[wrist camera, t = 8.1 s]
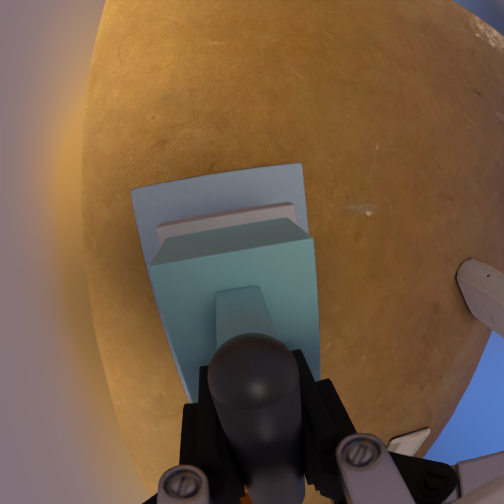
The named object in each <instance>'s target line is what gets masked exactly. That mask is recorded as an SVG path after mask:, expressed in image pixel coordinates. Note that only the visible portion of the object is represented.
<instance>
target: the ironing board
mask: <svg viewBox="0 0 504 504" xmlns="http://www.w3.org/2000/svg"><path fill="white" fill-rule="evenodd" d="M130 192H131V197H132V203H133V208H134V213H135V218H136V223H137V228H138V232H139V237H140V241H141V246H142V250H143V254H144V259H145V263H146V267H147V271H148V275H149V279H150V282H151V286H152V290H153V294H154V297H155V301H156V304H157V308H158V311H159V315H160V318H161V322H162V325H163V328H164V331H165V335H166V338H167V341H168V344H169V347H170V350H171V353H172V356H173V359H174V362H175V365H176V368H177V371H178V374H179V376H180V379H181V382H182V385H183V388H184V390H185V393H186V396H187V398H188V401H189V403H193V401H192V399H191V396H190V394H189V391H188V388H187V386H186V383H185V380H184V378H183V375H182V372H181V369H180V367H179V364H178V361H177V358H176V355H175V352H174V349H173V346H172V343H171V340H170V337H169V334H168V331H167V328H166V325H165V321H164V318H163V315H162V311H161V308H160V305H159V301H158V298H157V294H156V291H155V287H154V284H153V280H152V276H151V272H150V269H149V266H150V264H151V262H152V261H153V259H154V258H155V256H156V254H157V253H158V251H159V249H160V246H159V242H158V237H157V233H156V227H157V226H158V225H159V224H160V223H165V222H170V221H175V220H180V219H186V218H191V217H197V216H202V215H208V214H214V213H220V212H225V211H231V210H237V209H244V208H250V207H256V206H262V205H269V204H276V203H282V202H291V203H293V204H295V207H296V216H297V225H298V226H299V227H300V228H301V229H303V230H304V231H305V232H306V233H308V234H309V231H308V219H307V209H306V198H305V189H304V179H303V171H302V163H290V164H281V165H272V166H264V167H256V168H249V169H241V170H234V171H228V172H221V173H215V174H208V175H202V176H197V177H191V178H185V179H180V180H174V181H169V182H164V183H159V184H154V185H149V186H144V187H139V188H135V189H132V190H130Z"/></svg>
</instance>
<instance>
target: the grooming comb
mask: <svg viewBox="0 0 504 504" xmlns="http://www.w3.org/2000/svg"><path fill="white" fill-rule="evenodd" d="M429 433H430V428H426V429H423V430H419V431H416V432H413V433H410V434H407V435H404V436H401V437H398V438H395V439H393V440H392V441H391V443H390V444H391V445H389V446H388V447H389V448H387V450H388V451H391V452H395V453H399V454H403V455H407V456H412V457H413V455H414V454H415V452H416V451H417V450H418V449H419V447H420V446H421V444H422V443H423V442H424V440H425V439H426V438H427V436H428V435H429Z"/></svg>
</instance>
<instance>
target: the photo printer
mask: <svg viewBox="0 0 504 504" xmlns="http://www.w3.org/2000/svg"><path fill="white" fill-rule="evenodd" d="M457 281H458V284H459V287H460V289H461V292H462V294H463V296H464V299H465V301H466V303H467V305H468V307H469V309H470V311H471V313H472V314H473V315H474V316H475V317H476V318H477V319H479V320H480V321H481V322H483V323H484V324H485V325H487V326H488V327H489V328H491V329H492V330H493V331H495V332H496V333H498V334H499V335H500V336H501V337H503V338H504V274H503V273H501V272H499V271H497V270H495V269H493V268H491V267H489V266H487V265H485V264H483V263H481V262H479V261H477V260H475V259H470V260H466V261H465V262H463V263H462V265H461V266H460V268H459V270H458V272H457Z"/></svg>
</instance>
